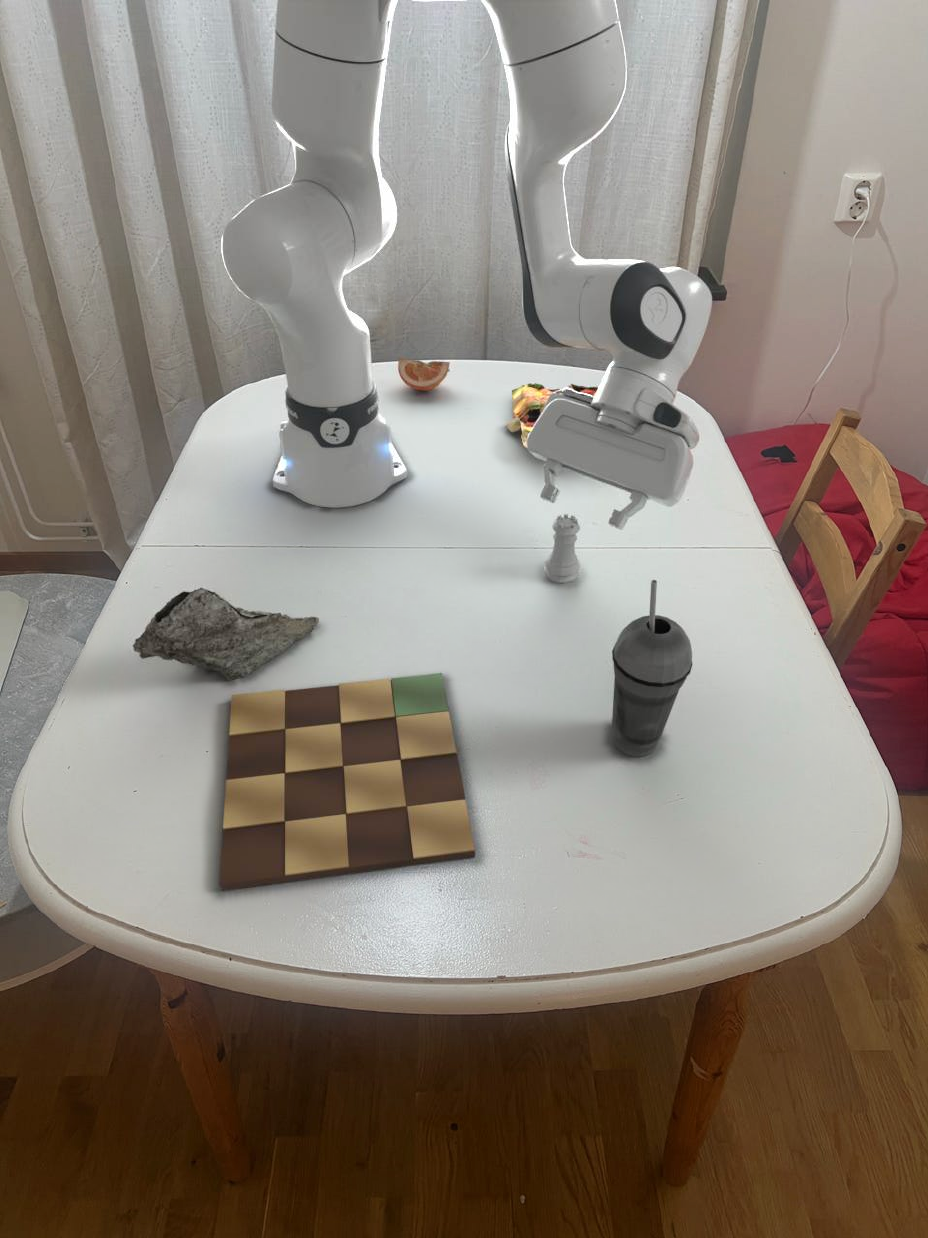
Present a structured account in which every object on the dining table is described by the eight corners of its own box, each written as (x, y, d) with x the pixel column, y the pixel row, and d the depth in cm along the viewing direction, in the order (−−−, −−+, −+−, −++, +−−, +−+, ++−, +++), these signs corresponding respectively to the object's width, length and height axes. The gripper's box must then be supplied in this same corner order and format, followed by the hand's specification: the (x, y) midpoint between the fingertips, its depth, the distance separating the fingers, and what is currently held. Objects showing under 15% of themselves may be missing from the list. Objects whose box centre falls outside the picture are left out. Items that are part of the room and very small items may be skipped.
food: (634, 466, 124) (638, 445, 121) (506, 465, 124) (507, 443, 122) (616, 395, 140) (619, 374, 138) (503, 394, 140) (503, 373, 138)
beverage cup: (654, 780, 82) (692, 626, 68) (585, 748, 85) (609, 594, 71) (682, 730, 86) (723, 577, 73) (616, 702, 89) (644, 549, 76)
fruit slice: (451, 380, 144) (451, 352, 140) (447, 399, 139) (447, 371, 135) (402, 378, 144) (401, 350, 141) (396, 397, 139) (395, 368, 136)
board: (233, 702, 89) (231, 694, 88) (442, 680, 91) (442, 672, 91) (221, 891, 73) (218, 883, 72) (475, 857, 75) (475, 850, 74)
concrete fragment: (326, 633, 97) (316, 556, 90) (171, 717, 87) (145, 639, 80) (296, 605, 100) (284, 529, 93) (143, 683, 91) (116, 606, 83)
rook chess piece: (577, 587, 103) (584, 533, 98) (541, 582, 104) (545, 528, 99) (581, 564, 107) (587, 511, 101) (545, 560, 107) (550, 507, 102)
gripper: (546, 373, 103) (498, 477, 104) (703, 423, 94) (650, 536, 95) (563, 393, 109) (517, 492, 110) (712, 442, 100) (661, 549, 101)
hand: (580, 513), depth 102 cm, fingers open, 8 cm apart
